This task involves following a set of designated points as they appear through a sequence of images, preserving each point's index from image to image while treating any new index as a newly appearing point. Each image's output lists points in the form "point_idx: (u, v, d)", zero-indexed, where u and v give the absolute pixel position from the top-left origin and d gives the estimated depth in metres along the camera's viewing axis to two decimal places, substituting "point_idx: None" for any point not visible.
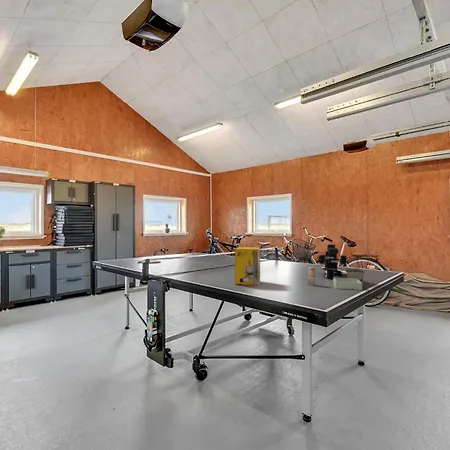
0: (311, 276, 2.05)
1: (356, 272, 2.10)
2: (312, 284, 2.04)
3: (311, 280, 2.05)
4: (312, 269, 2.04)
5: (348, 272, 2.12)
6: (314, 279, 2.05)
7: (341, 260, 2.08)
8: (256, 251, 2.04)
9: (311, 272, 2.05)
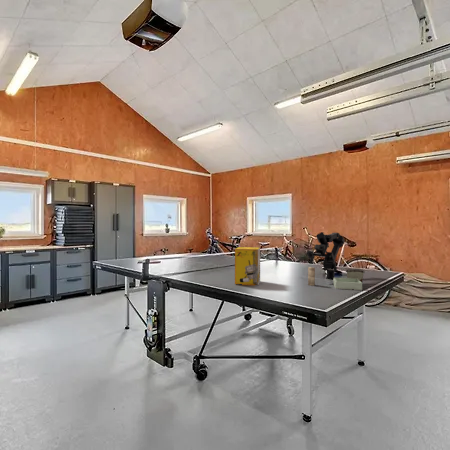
0: (311, 276, 2.05)
1: (356, 272, 2.10)
2: (312, 284, 2.04)
3: (311, 280, 2.05)
4: (312, 269, 2.04)
5: (348, 272, 2.12)
6: (314, 279, 2.05)
7: (324, 262, 2.10)
8: (256, 251, 2.04)
9: (311, 272, 2.05)
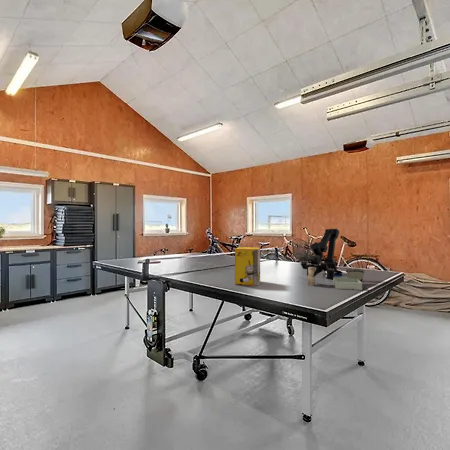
0: (311, 276, 2.05)
1: (356, 272, 2.10)
2: (312, 284, 2.04)
3: (311, 280, 2.05)
4: (312, 269, 2.04)
5: (348, 272, 2.12)
6: (314, 279, 2.05)
7: (315, 273, 2.04)
8: (256, 251, 2.04)
9: (311, 272, 2.05)
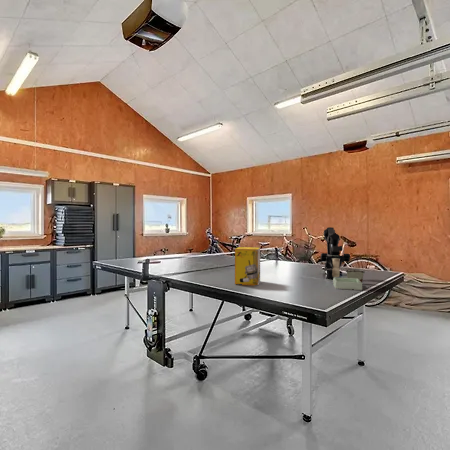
0: (337, 267, 1.99)
1: (356, 272, 2.10)
2: (338, 275, 1.99)
3: (337, 271, 1.99)
4: (338, 260, 1.99)
5: (348, 272, 2.12)
6: (339, 270, 2.00)
7: None
8: (256, 251, 2.05)
9: (337, 263, 1.99)
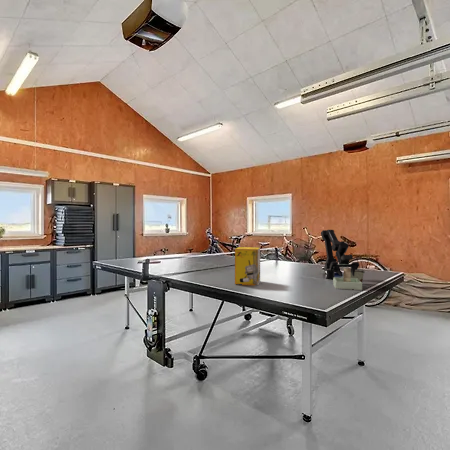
0: (349, 278, 1.99)
1: (356, 272, 2.10)
2: None
3: None
4: (350, 270, 1.99)
5: None
6: None
7: None
8: (256, 251, 2.05)
9: (349, 273, 1.99)
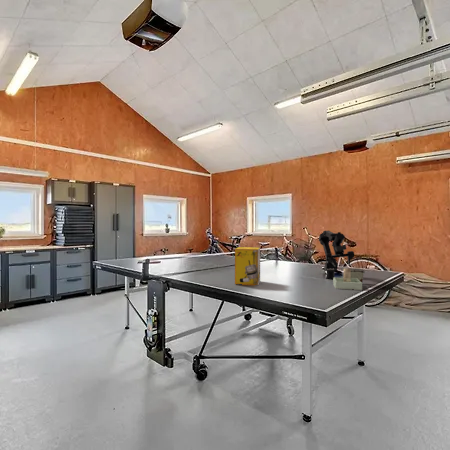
0: (349, 278, 1.99)
1: (356, 272, 2.10)
2: None
3: None
4: (350, 270, 1.99)
5: None
6: None
7: None
8: (256, 251, 2.05)
9: (349, 273, 1.99)
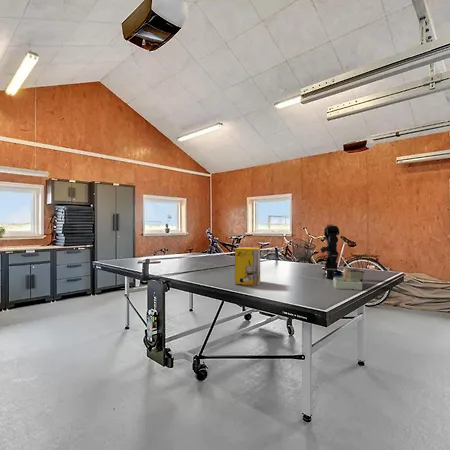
0: (349, 278, 1.99)
1: (356, 272, 2.10)
2: None
3: None
4: (350, 270, 1.99)
5: None
6: None
7: (332, 262, 2.11)
8: (256, 251, 2.05)
9: (349, 273, 1.99)
